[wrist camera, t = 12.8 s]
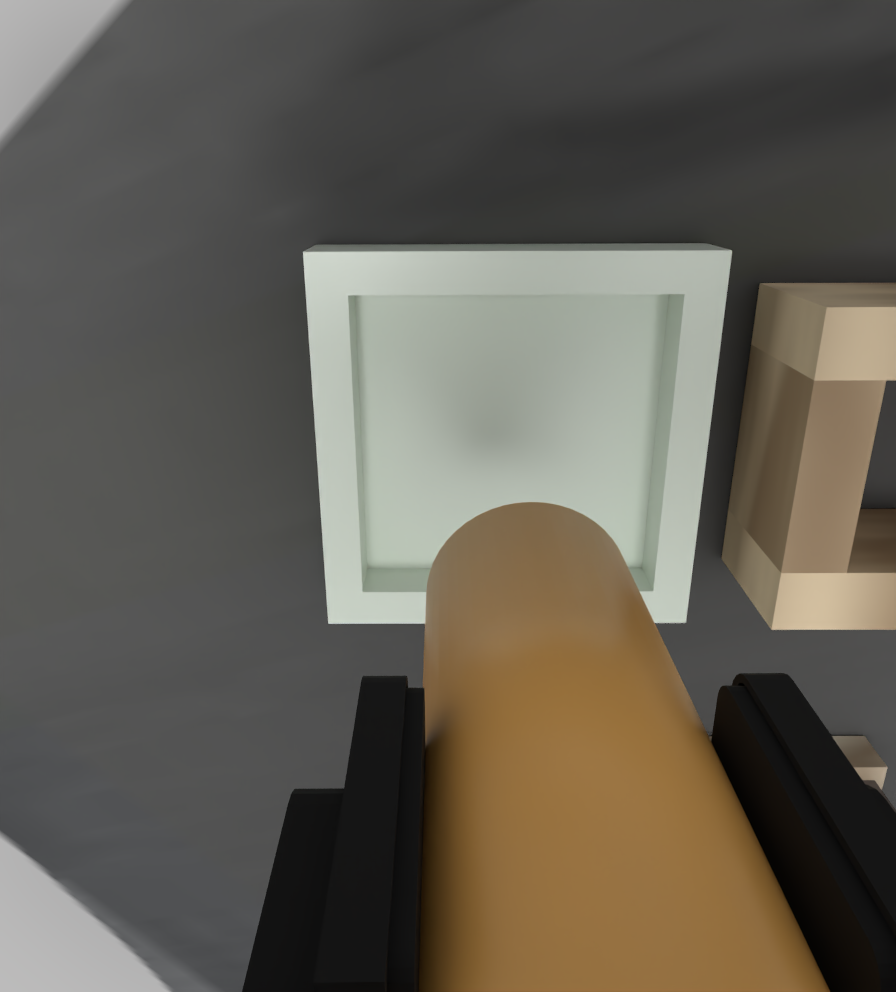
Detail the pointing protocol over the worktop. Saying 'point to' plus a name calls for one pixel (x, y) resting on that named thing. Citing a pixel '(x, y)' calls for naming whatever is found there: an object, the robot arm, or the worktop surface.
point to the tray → (509, 403)
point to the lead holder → (814, 459)
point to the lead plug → (578, 786)
